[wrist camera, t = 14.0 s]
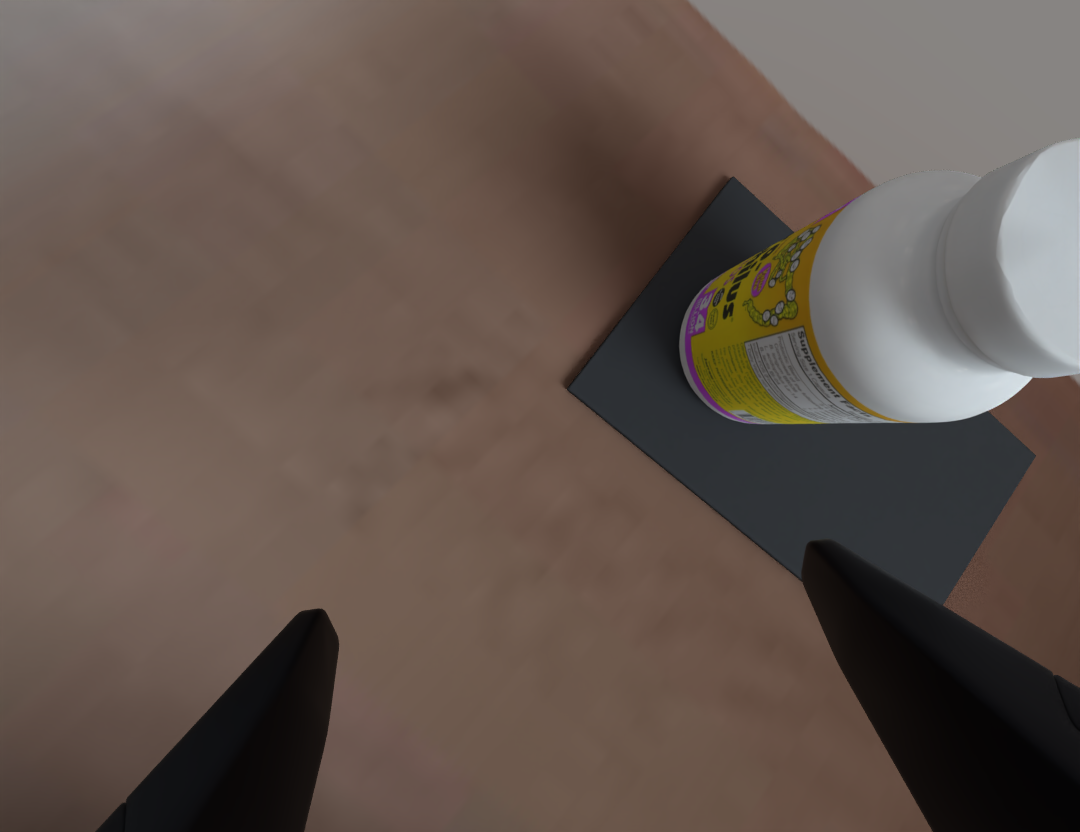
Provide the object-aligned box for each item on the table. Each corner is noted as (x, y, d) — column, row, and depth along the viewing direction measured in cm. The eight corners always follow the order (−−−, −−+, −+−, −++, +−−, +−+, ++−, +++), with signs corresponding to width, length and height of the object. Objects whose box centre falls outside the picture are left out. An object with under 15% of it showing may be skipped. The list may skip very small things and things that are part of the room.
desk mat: (1029, 455, 26) (1036, 455, 26) (900, 662, 24) (906, 665, 24) (729, 179, 23) (733, 175, 23) (566, 389, 22) (568, 388, 22)
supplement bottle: (758, 243, 23) (1126, 23, 11) (839, 366, 24) (1282, 295, 11) (642, 329, 22) (895, 198, 10) (729, 455, 23) (1078, 489, 10)
